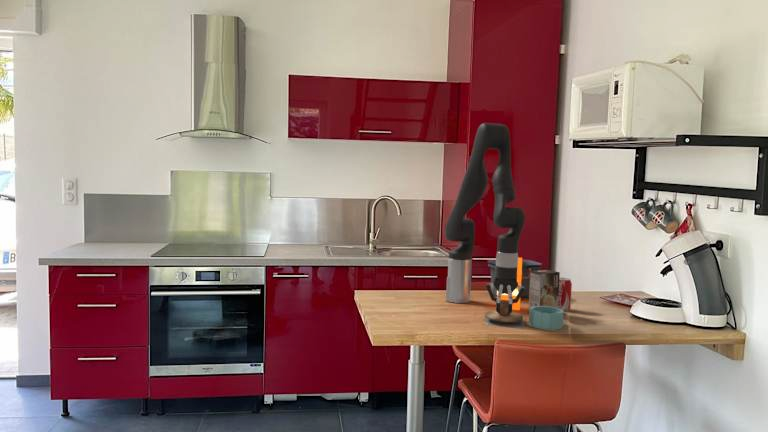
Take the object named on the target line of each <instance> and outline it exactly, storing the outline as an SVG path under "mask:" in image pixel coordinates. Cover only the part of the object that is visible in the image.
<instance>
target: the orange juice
mask: <svg viewBox="0 0 768 432" xmlns="http://www.w3.org/2000/svg"><path fill="white" fill-rule="evenodd" d="M522 260H523V257H518V269H517V282H518V285H520V286H521V275H522ZM518 293H519V292H518V288H516V289H515V290H514V291H513V292H512V297H513V299H515V298H516V296H517V294H518ZM497 296H498V291H497ZM497 296H496V297H497ZM501 300H509V298H508V294H505V293H504V294H502V295H501ZM501 300H500V301H501ZM520 309H521V298H520V299H519V301H518V302H517V303H513V305H512V311H520Z"/></svg>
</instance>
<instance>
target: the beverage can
mask: <svg viewBox="0 0 768 432" xmlns="http://www.w3.org/2000/svg"><path fill="white" fill-rule="evenodd" d="M572 288H573V283H572V281H571V278H568V277H559V301H558V308H560V309H562V310H563V312H566V311H569V310H570V309H571V305H572V303H571V302H572Z"/></svg>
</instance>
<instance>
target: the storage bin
mask: <svg viewBox="0 0 768 432" xmlns="http://www.w3.org/2000/svg"><path fill="white" fill-rule="evenodd" d="M487 263H488V264H487V267H489V268H490V283H493V282H494V280H495V268H496V259H495V260H494V259H493V260H492V259H491V260H490V259H489V260H487ZM542 265H543V263H541V262H538V261H534V260H530V259H522V275H521V286H524V287H525V290H524V292H523V294H522V295H521V297H520V298H527V297H528V298H529V290H530V271H538V270H542V267H541V266H542ZM492 290H493V293H494V295H495V297H497V289H496V288H495V286H493V289H492Z"/></svg>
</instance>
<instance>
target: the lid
mask: <svg viewBox="0 0 768 432" xmlns="http://www.w3.org/2000/svg"><path fill="white" fill-rule="evenodd" d="M508 304H509V300H501V301H500V314H498V312H497V311H496V309H495V310H488V311H486V312H485V314H484V318H485V317H486V318H488V319H491V320H494V321H500V322H518V321H521V320H523V318H524V316H523V314H521V313H519V312H516V311H512V313H510V315H508Z"/></svg>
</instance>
